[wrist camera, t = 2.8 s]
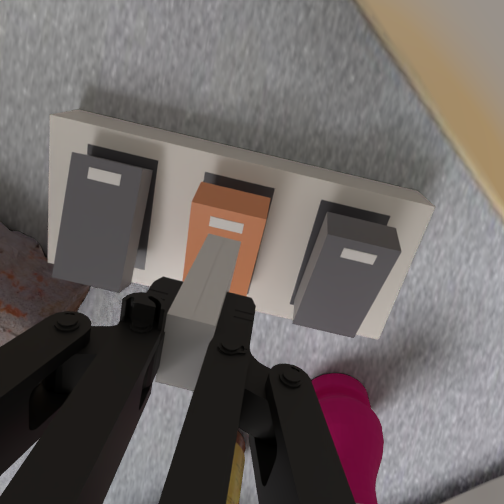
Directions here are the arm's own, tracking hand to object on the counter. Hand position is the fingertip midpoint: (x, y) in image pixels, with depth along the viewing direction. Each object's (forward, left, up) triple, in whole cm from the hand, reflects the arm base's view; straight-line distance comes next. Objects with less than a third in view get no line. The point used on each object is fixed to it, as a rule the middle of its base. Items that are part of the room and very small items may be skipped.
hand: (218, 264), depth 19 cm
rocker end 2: (+8, -3, -9) cm, 12 cm away
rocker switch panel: (0, -3, -14) cm, 15 cm away
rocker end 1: (-8, -3, -9) cm, 13 cm away
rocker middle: (0, -3, -9) cm, 9 cm away
